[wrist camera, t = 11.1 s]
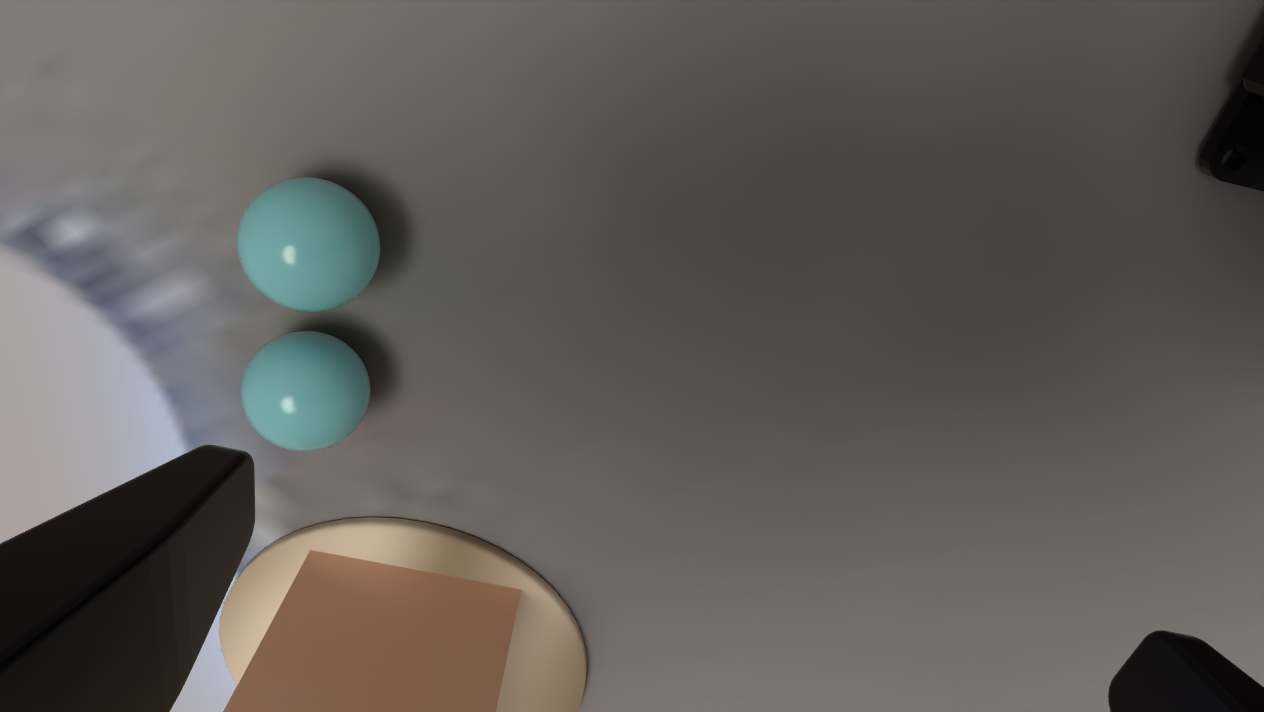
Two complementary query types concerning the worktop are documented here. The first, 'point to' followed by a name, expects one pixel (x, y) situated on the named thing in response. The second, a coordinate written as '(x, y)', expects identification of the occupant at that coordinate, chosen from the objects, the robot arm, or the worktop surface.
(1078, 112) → the worktop surface
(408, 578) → the salmon pink block
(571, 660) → the coaster
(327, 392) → the marble
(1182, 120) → the worktop surface
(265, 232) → the marble
